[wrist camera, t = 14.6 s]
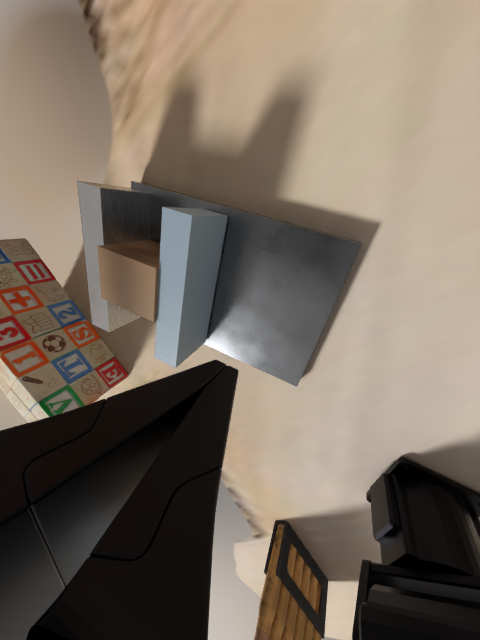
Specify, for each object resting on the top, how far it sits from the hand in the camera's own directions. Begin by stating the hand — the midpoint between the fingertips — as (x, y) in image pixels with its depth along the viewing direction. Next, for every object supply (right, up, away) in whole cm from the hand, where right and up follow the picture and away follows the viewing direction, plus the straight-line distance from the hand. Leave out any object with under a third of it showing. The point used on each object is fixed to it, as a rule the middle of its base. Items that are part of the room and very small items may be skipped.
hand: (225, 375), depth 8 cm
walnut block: (-5, +6, +13) cm, 15 cm away
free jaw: (-2, +5, +12) cm, 13 cm away
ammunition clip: (+9, -28, +23) cm, 37 cm away
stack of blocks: (-22, +2, +24) cm, 33 cm away
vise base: (-1, +5, +13) cm, 14 cm away
